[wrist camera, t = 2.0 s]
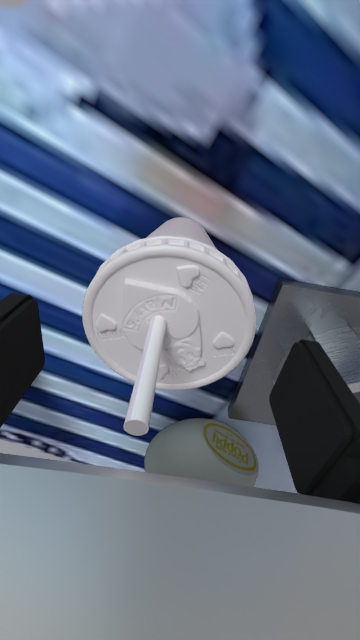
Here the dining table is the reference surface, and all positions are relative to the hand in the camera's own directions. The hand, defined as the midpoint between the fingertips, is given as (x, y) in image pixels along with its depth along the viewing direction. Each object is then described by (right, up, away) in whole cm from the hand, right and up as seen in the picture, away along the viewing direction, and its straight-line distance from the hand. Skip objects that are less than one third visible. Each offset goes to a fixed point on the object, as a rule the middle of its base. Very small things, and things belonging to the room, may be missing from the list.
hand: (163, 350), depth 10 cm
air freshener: (+3, -11, +19) cm, 22 cm away
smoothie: (+1, +6, +8) cm, 10 cm away
